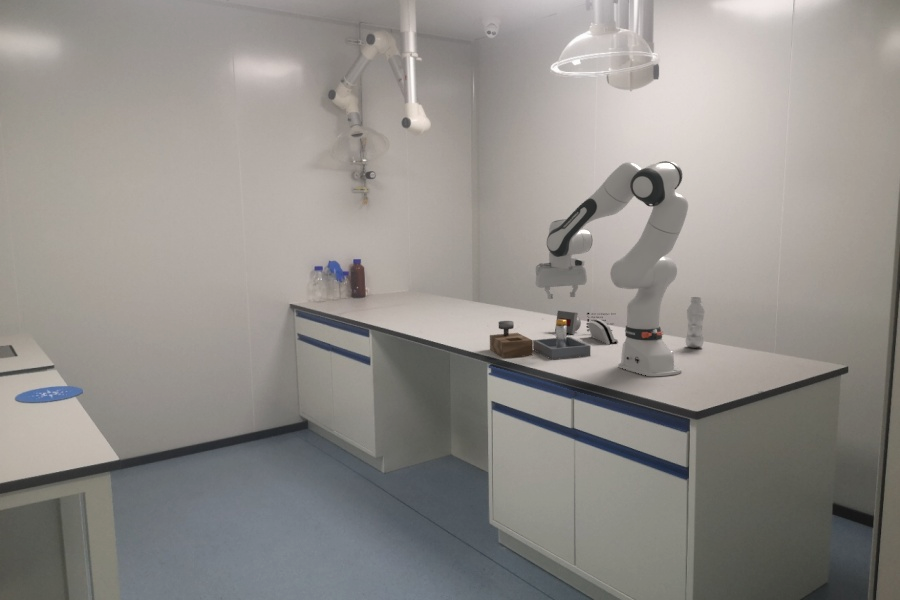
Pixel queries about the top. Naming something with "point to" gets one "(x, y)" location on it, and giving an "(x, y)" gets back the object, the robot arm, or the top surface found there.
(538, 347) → the tray
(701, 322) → the plastic bottle
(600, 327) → the black-striped white block
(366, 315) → the top surface
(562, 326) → the gold-capped glass vial
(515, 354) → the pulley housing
